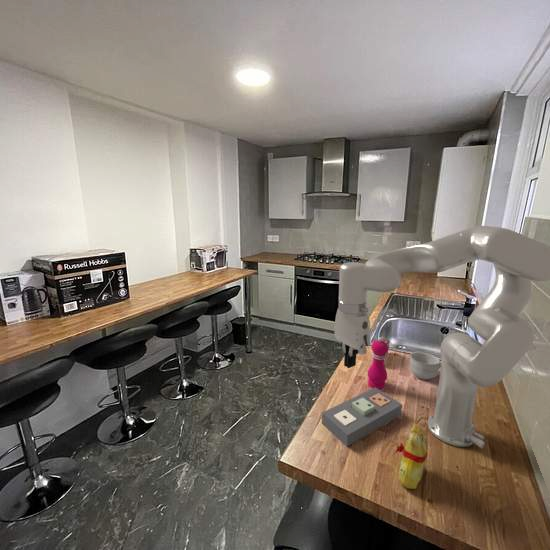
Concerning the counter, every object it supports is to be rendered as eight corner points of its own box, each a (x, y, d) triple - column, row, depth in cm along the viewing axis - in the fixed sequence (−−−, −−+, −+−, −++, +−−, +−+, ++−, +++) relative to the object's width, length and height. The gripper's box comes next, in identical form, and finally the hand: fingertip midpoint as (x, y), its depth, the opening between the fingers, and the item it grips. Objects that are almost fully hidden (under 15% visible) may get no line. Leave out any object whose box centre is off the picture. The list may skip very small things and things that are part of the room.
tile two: (374, 415, 94) (374, 405, 93) (363, 421, 91) (364, 411, 91) (362, 406, 98) (362, 397, 97) (351, 412, 96) (352, 402, 95)
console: (401, 414, 97) (402, 404, 96) (346, 446, 84) (347, 435, 83) (374, 396, 106) (375, 387, 105) (321, 423, 93) (322, 412, 92)
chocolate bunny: (427, 465, 78) (434, 417, 75) (416, 496, 70) (423, 444, 66) (401, 452, 82) (406, 406, 79) (387, 479, 74) (392, 429, 71)
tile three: (389, 410, 98) (390, 400, 98) (379, 415, 96) (380, 405, 95) (377, 401, 103) (378, 392, 102) (367, 406, 100) (368, 397, 99)
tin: (382, 351, 139) (384, 335, 137) (389, 353, 137) (391, 337, 136) (372, 365, 127) (374, 347, 125) (380, 367, 126) (381, 349, 124)
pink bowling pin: (387, 391, 109) (392, 342, 104) (367, 389, 111) (371, 340, 106) (384, 380, 116) (389, 334, 111) (365, 378, 117) (369, 332, 113)
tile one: (356, 428, 90) (356, 418, 89) (344, 435, 88) (345, 424, 87) (344, 418, 94) (345, 409, 94) (332, 424, 92) (333, 415, 91)
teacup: (403, 374, 120) (405, 357, 118) (415, 365, 127) (417, 348, 125) (440, 390, 110) (443, 371, 108) (450, 378, 117) (453, 360, 115)
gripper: (383, 311, 78) (379, 373, 82) (342, 297, 90) (341, 352, 94) (363, 317, 74) (360, 382, 78) (324, 302, 86) (323, 358, 90)
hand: (349, 365), depth 86 cm, fingers closed
